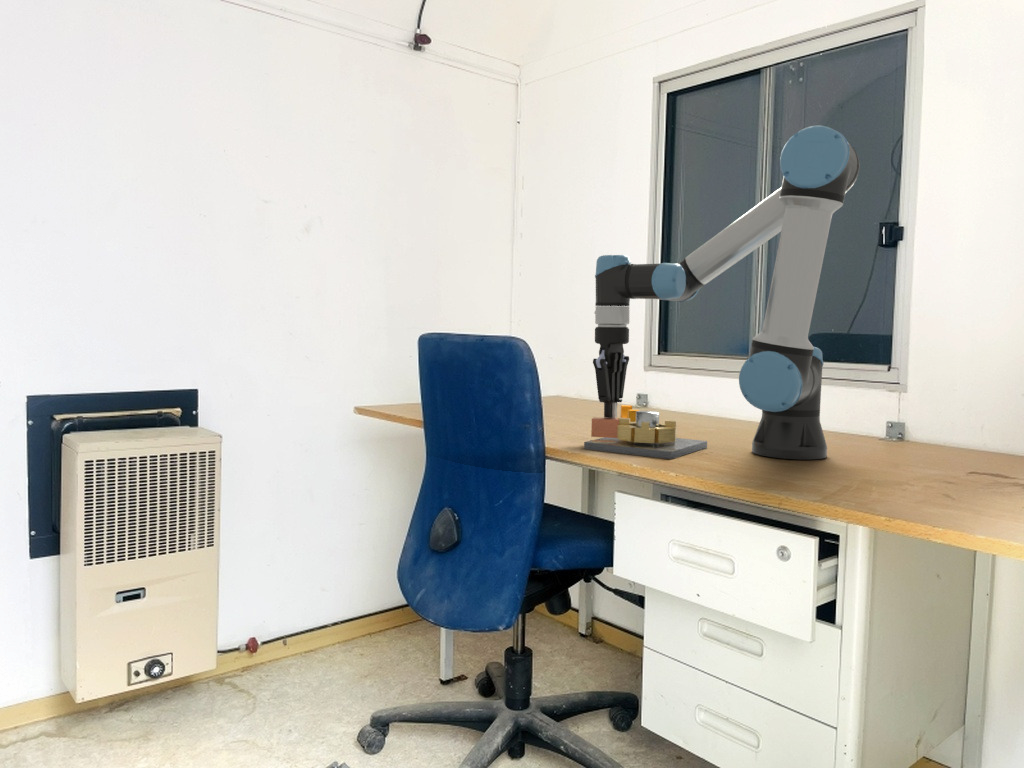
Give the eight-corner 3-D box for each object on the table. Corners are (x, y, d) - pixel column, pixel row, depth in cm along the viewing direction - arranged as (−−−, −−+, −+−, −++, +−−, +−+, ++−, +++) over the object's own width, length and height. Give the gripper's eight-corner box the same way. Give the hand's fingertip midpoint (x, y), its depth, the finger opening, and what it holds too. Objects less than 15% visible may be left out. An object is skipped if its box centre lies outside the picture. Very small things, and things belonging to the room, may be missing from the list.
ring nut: (676, 436, 180) (677, 418, 180) (674, 444, 168) (674, 424, 168) (596, 432, 185) (596, 414, 185) (587, 439, 173) (588, 420, 173)
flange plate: (707, 447, 179) (708, 412, 178) (670, 459, 162) (672, 419, 162) (625, 438, 190) (626, 405, 189) (584, 448, 173) (585, 411, 173)
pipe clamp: (613, 430, 207) (614, 405, 207) (630, 430, 207) (630, 405, 207) (621, 436, 195) (622, 410, 195) (638, 437, 195) (639, 410, 195)
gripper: (610, 324, 185) (609, 426, 188) (582, 326, 175) (581, 433, 177) (640, 325, 181) (638, 429, 183) (613, 326, 171) (611, 436, 173)
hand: (610, 431), depth 180 cm, fingers closed
